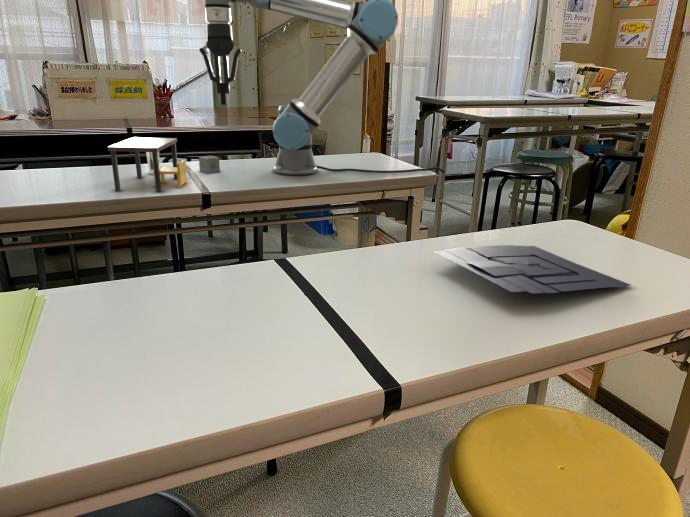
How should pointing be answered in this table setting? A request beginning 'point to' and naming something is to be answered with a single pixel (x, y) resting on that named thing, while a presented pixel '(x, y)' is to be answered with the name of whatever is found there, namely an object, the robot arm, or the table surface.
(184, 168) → the chair
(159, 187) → the little table
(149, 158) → the milkshake
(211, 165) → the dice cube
